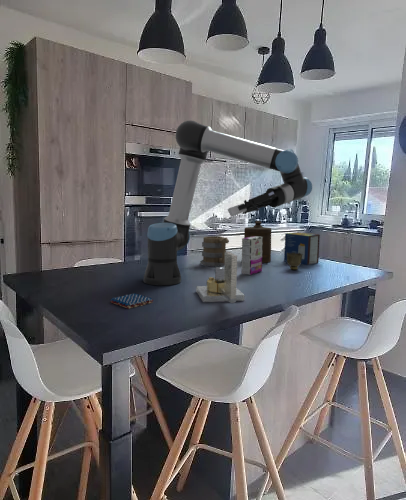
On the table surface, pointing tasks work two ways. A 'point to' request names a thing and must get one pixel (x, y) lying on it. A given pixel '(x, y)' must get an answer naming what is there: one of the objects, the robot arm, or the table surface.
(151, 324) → the table surface
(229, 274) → the ring nut
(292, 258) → the cup
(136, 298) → the woven mat
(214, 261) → the tankard
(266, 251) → the wooden container
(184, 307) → the table surface
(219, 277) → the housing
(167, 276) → the robot arm
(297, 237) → the protein box
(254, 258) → the candy bar box
